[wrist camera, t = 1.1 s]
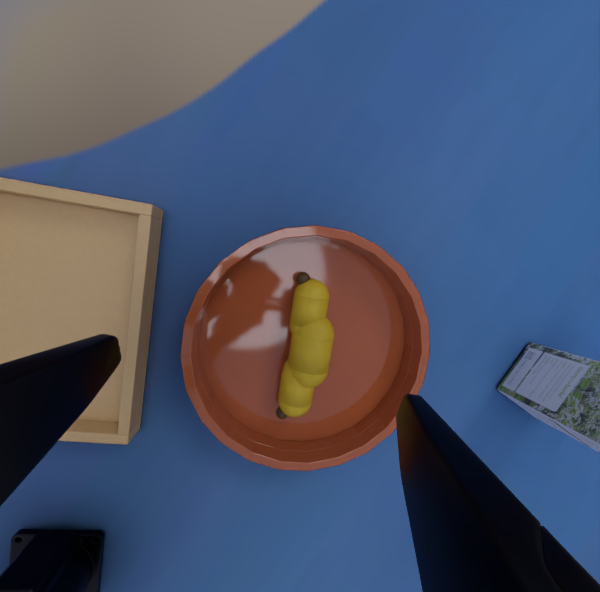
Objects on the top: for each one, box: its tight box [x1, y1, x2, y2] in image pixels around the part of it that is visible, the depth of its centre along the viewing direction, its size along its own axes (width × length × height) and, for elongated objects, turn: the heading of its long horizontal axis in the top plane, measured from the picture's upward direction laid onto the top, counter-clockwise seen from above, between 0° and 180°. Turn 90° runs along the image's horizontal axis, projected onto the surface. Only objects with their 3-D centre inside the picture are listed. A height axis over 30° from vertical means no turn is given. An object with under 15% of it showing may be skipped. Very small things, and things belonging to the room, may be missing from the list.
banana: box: [276, 272, 334, 419], centre depth 20 cm, size 12×4×3 cm, turn 171°
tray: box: [0, 177, 163, 445], centre depth 19 cm, size 18×12×2 cm
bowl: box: [181, 225, 430, 471], centre depth 21 cm, size 18×18×3 cm
